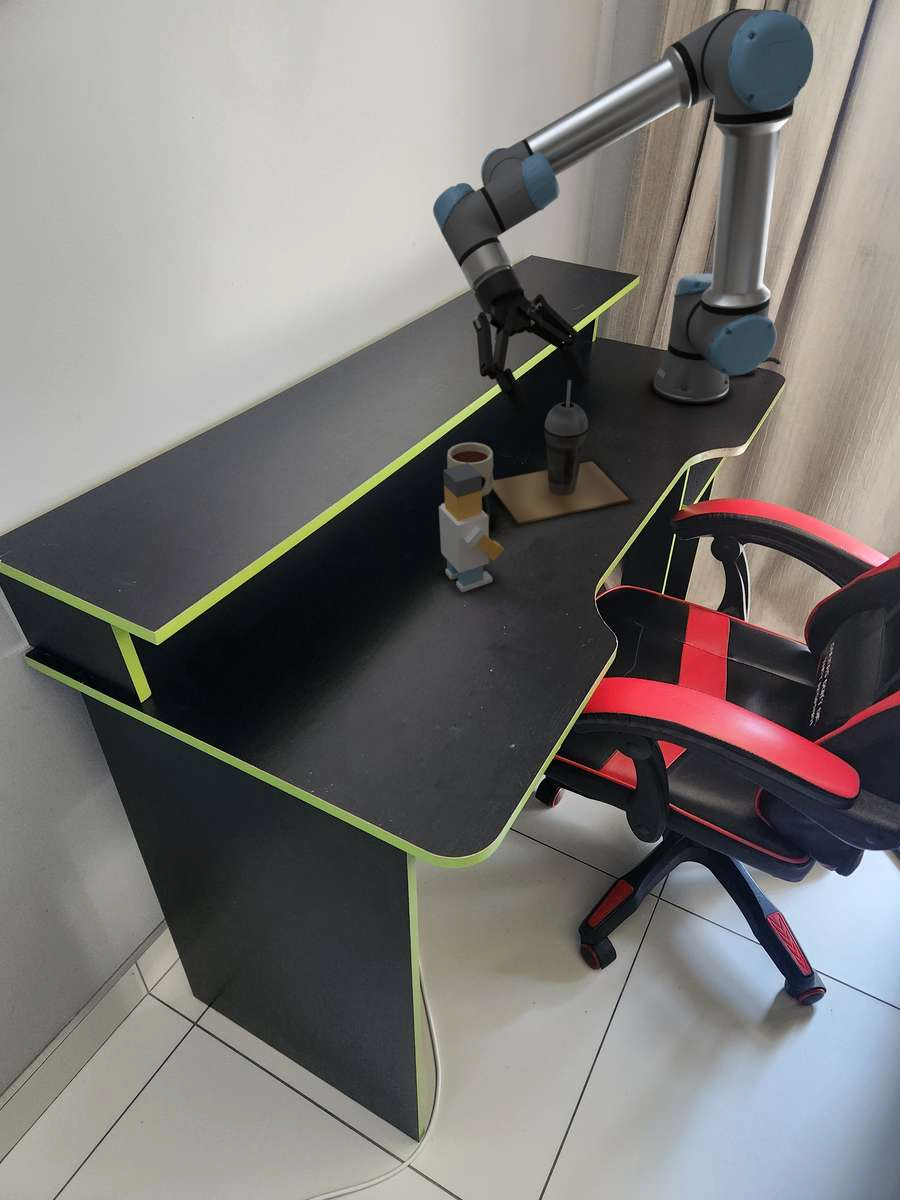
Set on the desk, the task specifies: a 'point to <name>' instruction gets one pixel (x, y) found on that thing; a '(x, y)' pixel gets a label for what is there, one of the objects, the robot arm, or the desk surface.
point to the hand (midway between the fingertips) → (553, 396)
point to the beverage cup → (564, 444)
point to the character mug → (475, 465)
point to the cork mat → (536, 502)
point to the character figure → (465, 528)
